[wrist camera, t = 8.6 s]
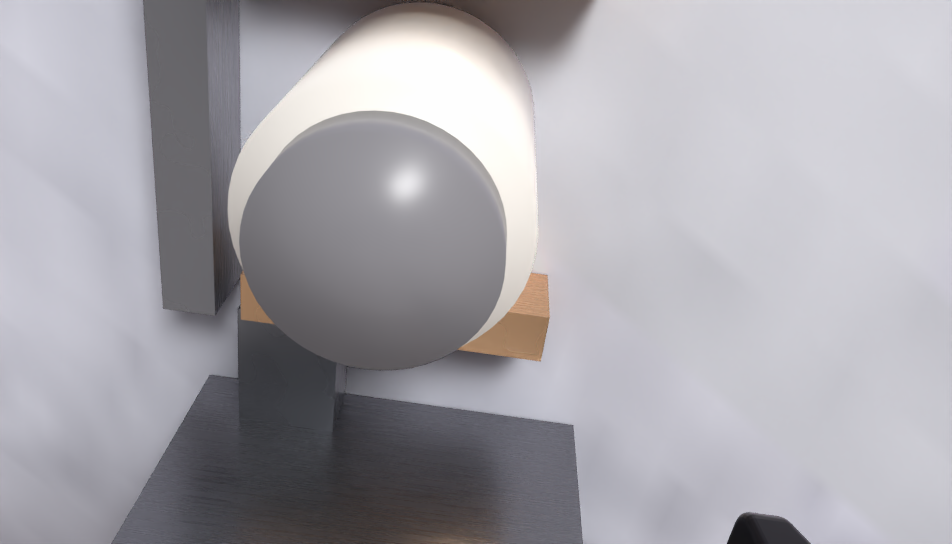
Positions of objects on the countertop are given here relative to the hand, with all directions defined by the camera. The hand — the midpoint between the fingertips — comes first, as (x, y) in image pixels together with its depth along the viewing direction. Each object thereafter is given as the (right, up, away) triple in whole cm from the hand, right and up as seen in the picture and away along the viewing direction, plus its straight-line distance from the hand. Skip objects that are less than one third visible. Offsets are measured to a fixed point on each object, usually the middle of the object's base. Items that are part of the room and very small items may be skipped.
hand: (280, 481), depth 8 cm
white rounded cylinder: (+1, +6, +10) cm, 12 cm away
